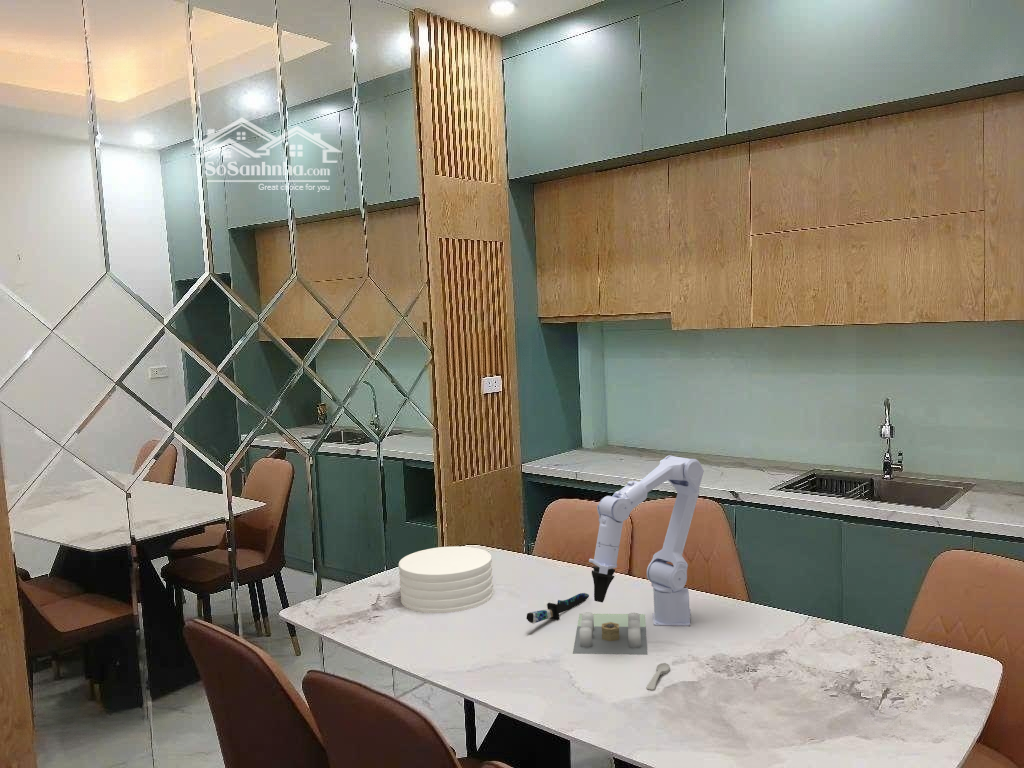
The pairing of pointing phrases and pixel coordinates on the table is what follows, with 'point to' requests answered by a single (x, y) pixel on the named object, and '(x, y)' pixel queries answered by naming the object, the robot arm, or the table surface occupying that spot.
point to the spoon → (661, 669)
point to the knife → (556, 608)
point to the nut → (610, 631)
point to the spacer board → (628, 643)
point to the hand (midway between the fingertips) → (599, 598)
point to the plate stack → (446, 579)
